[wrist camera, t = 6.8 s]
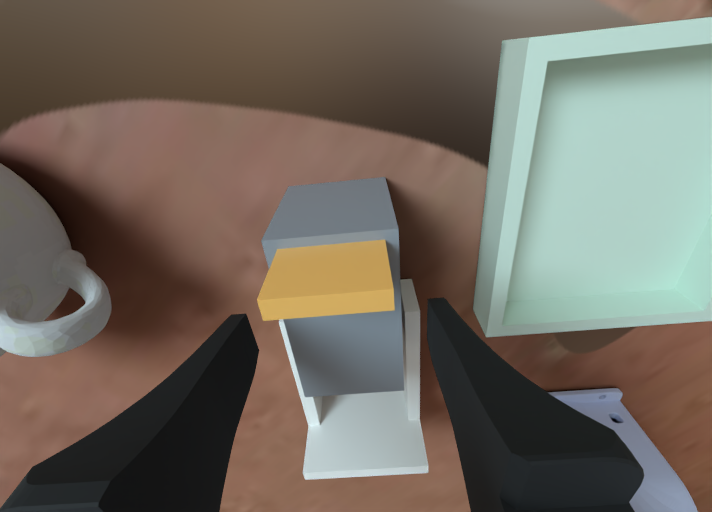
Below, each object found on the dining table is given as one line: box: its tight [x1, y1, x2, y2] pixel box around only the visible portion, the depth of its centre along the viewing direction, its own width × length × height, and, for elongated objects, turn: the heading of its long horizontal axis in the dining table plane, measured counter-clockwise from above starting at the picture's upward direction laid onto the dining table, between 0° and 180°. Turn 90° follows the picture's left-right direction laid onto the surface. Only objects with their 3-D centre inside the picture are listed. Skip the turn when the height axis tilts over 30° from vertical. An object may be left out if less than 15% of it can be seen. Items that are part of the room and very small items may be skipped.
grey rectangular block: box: [257, 177, 404, 397], centre depth 16 cm, size 5×9×9 cm, turn 6°
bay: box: [279, 279, 428, 480], centre depth 20 cm, size 8×10×6 cm
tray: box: [473, 17, 712, 337], centre depth 16 cm, size 13×15×2 cm
